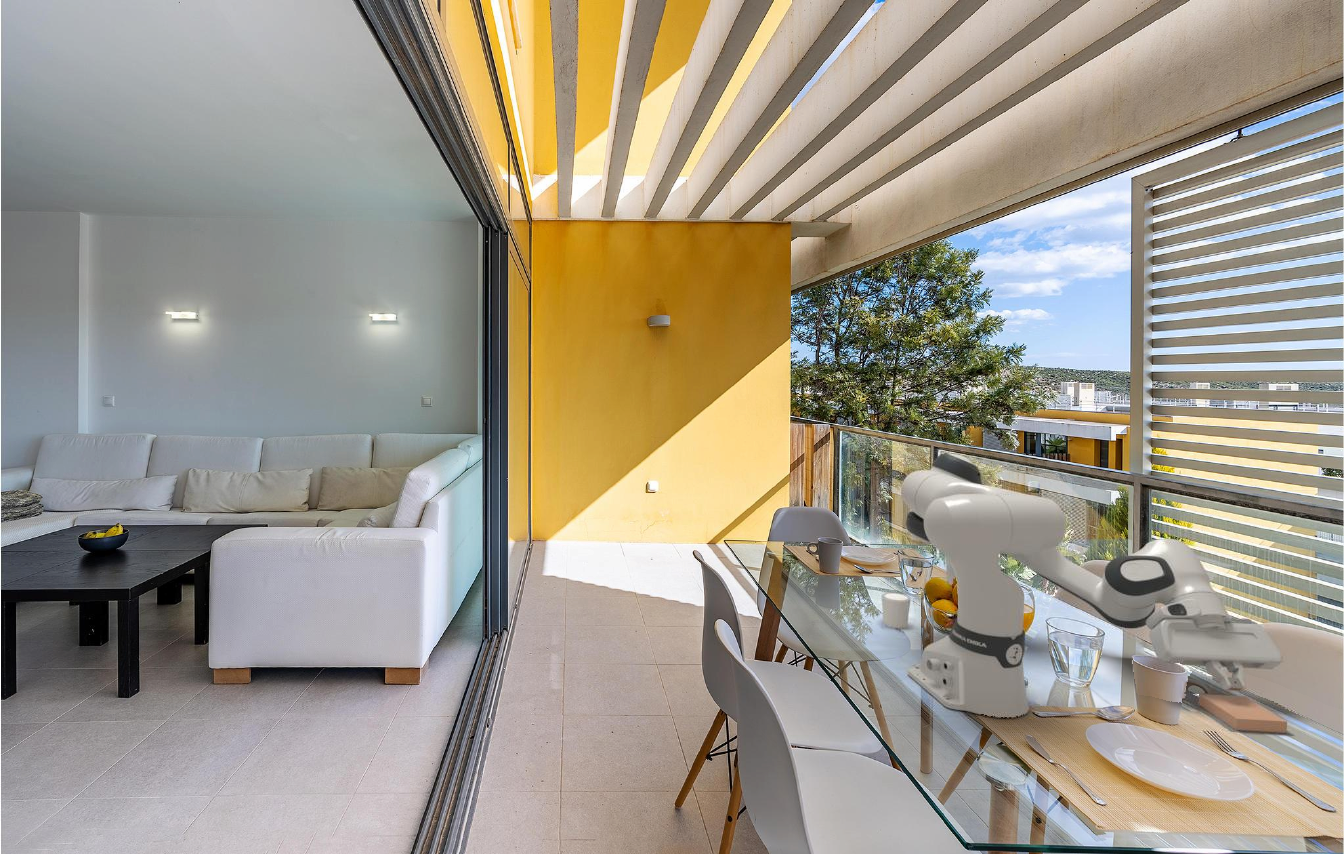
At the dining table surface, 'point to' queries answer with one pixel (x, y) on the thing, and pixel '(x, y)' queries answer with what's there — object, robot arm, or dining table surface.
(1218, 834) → the dining table surface
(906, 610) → the white cylinder
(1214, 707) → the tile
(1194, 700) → the mat
